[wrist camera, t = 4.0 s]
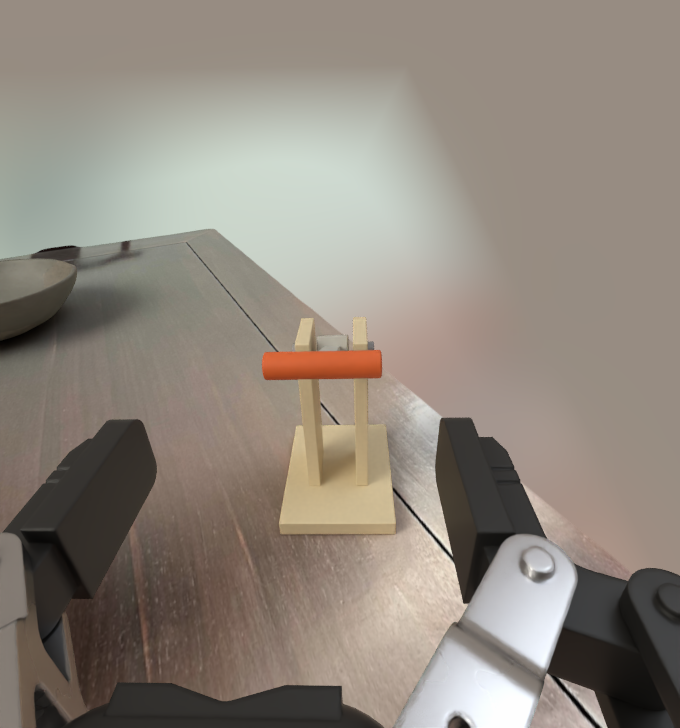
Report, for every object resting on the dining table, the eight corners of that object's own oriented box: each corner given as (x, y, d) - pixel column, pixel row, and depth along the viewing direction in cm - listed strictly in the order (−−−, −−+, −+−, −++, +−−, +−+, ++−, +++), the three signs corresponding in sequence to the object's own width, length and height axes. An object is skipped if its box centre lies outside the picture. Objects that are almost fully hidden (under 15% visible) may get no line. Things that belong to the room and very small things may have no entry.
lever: (382, 389, 21) (381, 341, 21) (262, 391, 22) (260, 343, 21) (373, 365, 33) (372, 334, 33) (296, 366, 34) (295, 335, 33)
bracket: (395, 534, 33) (402, 372, 26) (280, 534, 34) (254, 374, 26) (385, 434, 44) (388, 297, 36) (297, 435, 44) (282, 300, 36)
